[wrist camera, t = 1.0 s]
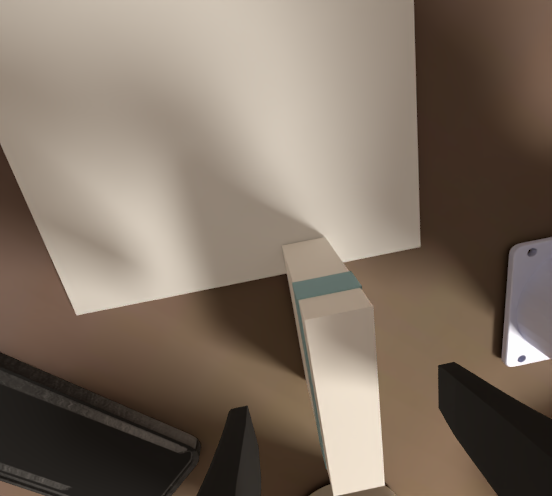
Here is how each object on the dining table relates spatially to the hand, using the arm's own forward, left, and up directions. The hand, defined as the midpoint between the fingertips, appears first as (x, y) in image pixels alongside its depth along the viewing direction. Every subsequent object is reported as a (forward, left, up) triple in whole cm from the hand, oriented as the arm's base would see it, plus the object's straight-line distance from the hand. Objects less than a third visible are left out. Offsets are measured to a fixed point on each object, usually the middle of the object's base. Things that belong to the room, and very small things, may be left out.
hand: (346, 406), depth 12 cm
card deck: (0, 0, -6) cm, 6 cm away
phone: (+16, +5, -7) cm, 18 cm away
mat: (+3, -10, -7) cm, 12 cm away
